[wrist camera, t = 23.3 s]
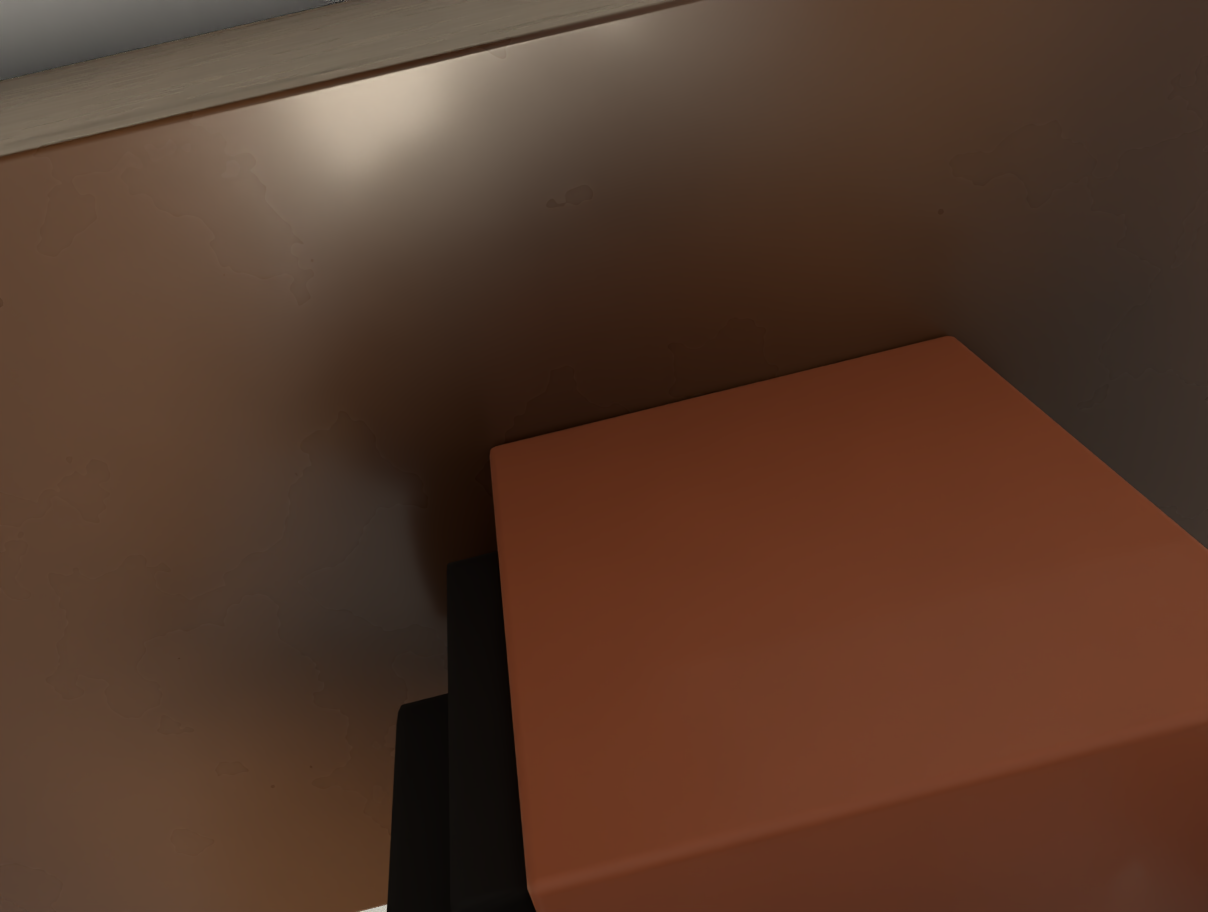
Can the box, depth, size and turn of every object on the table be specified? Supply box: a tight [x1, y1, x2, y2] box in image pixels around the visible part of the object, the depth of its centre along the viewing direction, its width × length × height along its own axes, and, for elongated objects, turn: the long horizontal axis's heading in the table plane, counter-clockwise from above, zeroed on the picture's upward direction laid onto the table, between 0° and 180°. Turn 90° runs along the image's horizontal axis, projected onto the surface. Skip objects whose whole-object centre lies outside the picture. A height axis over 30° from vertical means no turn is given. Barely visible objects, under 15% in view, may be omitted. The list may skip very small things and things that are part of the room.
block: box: [490, 336, 1208, 912], centre depth 9 cm, size 5×5×5 cm
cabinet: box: [0, 0, 1208, 912], centre depth 14 cm, size 18×10×9 cm, turn 101°
